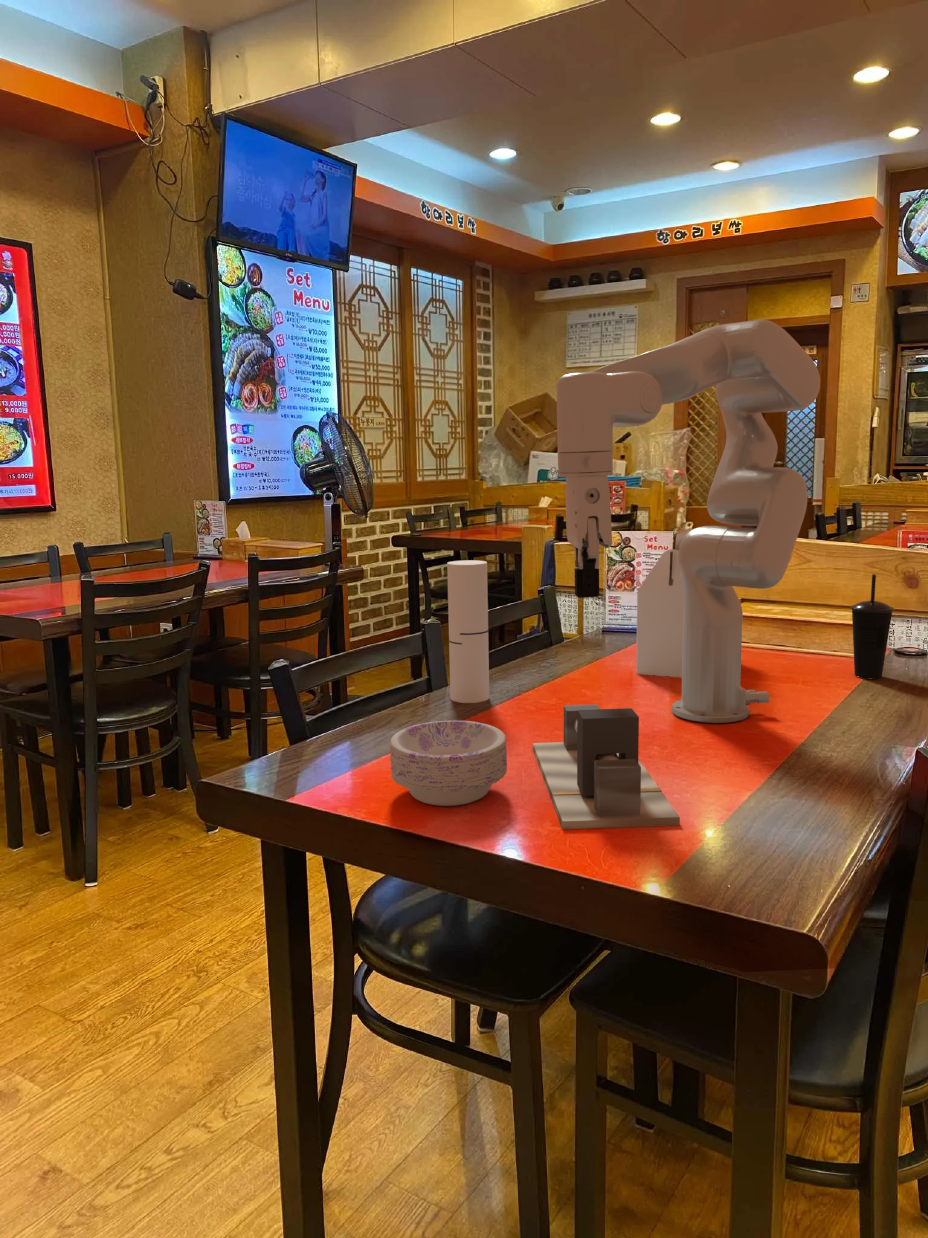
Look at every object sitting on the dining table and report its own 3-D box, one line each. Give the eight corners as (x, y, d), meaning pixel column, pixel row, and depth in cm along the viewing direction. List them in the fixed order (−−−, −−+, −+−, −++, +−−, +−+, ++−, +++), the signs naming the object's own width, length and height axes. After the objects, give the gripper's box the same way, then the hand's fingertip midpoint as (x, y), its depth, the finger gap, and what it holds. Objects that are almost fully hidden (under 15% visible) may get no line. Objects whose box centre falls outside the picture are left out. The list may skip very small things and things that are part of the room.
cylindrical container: (485, 703, 163) (483, 564, 159) (446, 702, 165) (443, 564, 160) (492, 693, 170) (490, 560, 166) (454, 692, 172) (451, 560, 167)
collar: (577, 784, 118) (577, 710, 116) (630, 782, 118) (631, 708, 116) (582, 795, 114) (582, 718, 112) (637, 793, 114) (638, 717, 113)
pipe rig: (532, 749, 137) (532, 704, 136) (625, 746, 138) (625, 701, 136) (562, 829, 108) (562, 772, 106) (679, 825, 108) (680, 768, 107)
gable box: (702, 680, 177) (706, 536, 172) (635, 674, 183) (637, 535, 178) (722, 657, 197) (725, 527, 192) (661, 652, 202) (663, 526, 198)
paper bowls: (415, 824, 110) (413, 761, 109) (376, 784, 124) (374, 728, 122) (527, 803, 116) (527, 743, 115) (478, 767, 130) (477, 713, 128)
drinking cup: (892, 674, 178) (898, 572, 175) (886, 682, 172) (893, 577, 169) (850, 670, 182) (856, 571, 179) (843, 678, 176) (848, 575, 173)
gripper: (624, 465, 118) (625, 604, 122) (601, 463, 133) (602, 587, 137) (567, 467, 118) (569, 607, 122) (550, 465, 133) (552, 589, 136)
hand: (587, 596), depth 129 cm, fingers closed
